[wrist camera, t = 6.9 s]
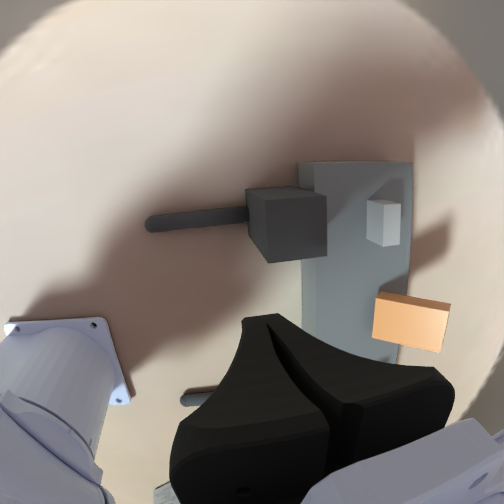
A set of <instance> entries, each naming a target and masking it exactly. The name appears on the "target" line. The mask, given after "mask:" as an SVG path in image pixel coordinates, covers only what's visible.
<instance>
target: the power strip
mask: <svg viewBox="0 0 504 504" xmlns="http://www.w3.org/2000/svg"><path fill="white" fill-rule="evenodd" d="M297 165H298V184H299V188H300V189H304V190H308V191H311V192H315V193H318V194H322V195H325V196H327V256H325V257H317V258H309V259H301V270H302V330H304V331H305V332H307V333H309V334H310V335H312V336H314V337H316V338H317V339H319V340H321V341H323V342H325V343H327V344H329V345H331V346H333V347H336V348H338V349H341V350H343V351H346V352H348V353H351V354H354V355H357V356H360V357H364V358H368V359H371V360H375V361H380V362H385V363H391V364H396V359H397V354H398V348H399V344H397V343H393V342H388V341H384V340H380V339H375V338H372V331H373V322H374V312H375V301H376V297H377V296H378V295H379V293H380V292H381V291H382V292H388V293H393V294H399V295H404V296H406V293H407V283H408V273H409V262H410V248H411V231H412V196H413V176H412V163H406V162H389V161H340V162H304V163H297Z"/></svg>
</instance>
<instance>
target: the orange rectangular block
mask: <svg viewBox="0 0 504 504" xmlns="http://www.w3.org/2000/svg"><path fill="white" fill-rule="evenodd" d="M450 306H451V304H449V303H444V302H438V301H432V300H427V299H421V298H415V297H410V296H404V295H399V294H393V293H388V292H382V291H381V292H380V293H379V295H378V296H377V297H376V301H375V312H374V322H373V331H372V338H375V339H380V340H384V341H388V342H393V343H397V344H401V345H406V346H410V347H415V348H419V349H424V350H429V351H433V352H438V353H440V351H441V348H442V344H443V340H444V336H445V331H446V326H447V322H448V317H449V311H450Z"/></svg>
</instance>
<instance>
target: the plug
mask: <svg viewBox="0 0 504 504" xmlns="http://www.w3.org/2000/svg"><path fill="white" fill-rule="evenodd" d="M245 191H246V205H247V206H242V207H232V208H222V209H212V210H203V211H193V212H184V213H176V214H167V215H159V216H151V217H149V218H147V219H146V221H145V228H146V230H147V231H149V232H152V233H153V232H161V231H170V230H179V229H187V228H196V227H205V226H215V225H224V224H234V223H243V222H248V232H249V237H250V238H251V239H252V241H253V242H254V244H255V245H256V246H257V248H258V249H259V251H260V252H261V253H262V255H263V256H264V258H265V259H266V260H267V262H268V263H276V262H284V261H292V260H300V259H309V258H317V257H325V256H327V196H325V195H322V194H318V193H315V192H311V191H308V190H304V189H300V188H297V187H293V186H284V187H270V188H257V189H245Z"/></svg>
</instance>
